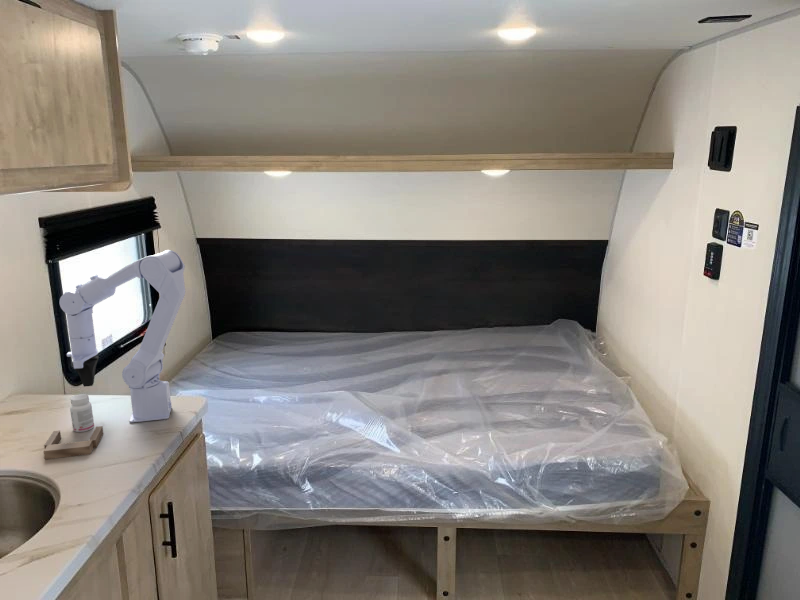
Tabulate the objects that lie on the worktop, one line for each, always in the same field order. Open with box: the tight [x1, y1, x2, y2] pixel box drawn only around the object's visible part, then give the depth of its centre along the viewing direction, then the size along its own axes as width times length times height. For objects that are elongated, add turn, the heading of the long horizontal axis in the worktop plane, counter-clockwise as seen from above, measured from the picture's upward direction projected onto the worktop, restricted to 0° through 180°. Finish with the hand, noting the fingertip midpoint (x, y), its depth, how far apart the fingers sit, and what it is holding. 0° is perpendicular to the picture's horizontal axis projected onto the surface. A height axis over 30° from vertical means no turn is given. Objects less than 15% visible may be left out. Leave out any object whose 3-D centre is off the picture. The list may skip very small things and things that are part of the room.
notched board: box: [43, 425, 104, 460], centre depth 143 cm, size 11×10×2 cm
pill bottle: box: [69, 393, 95, 433], centre depth 152 cm, size 5×5×8 cm
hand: (88, 385), depth 160 cm, fingers closed
